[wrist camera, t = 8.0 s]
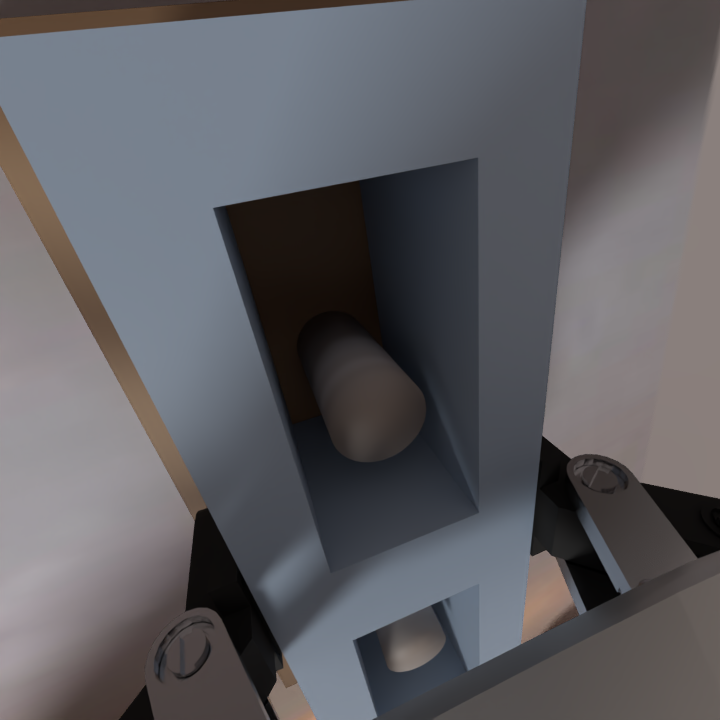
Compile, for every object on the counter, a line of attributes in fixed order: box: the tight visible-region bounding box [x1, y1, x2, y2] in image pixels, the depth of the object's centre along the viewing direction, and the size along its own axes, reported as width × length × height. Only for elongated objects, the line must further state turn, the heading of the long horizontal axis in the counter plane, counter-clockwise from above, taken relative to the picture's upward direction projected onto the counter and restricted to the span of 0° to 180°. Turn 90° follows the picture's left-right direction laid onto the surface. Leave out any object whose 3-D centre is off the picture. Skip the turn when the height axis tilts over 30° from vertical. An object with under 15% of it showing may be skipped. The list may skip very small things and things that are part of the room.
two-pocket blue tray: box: [0, 0, 587, 720], centre depth 10 cm, size 18×6×5 cm, turn 9°
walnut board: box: [0, 0, 446, 688], centre depth 12 cm, size 24×11×6 cm, turn 9°
